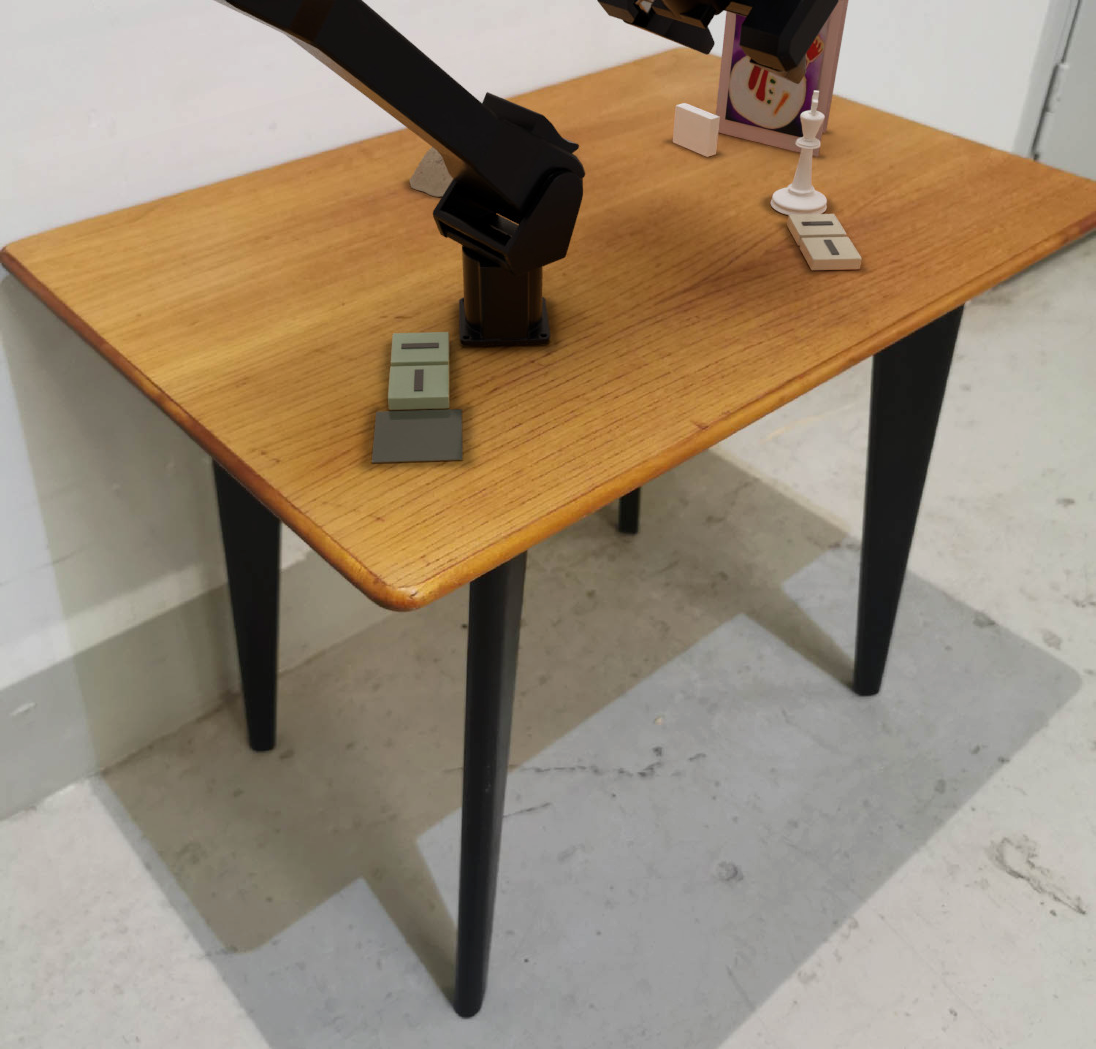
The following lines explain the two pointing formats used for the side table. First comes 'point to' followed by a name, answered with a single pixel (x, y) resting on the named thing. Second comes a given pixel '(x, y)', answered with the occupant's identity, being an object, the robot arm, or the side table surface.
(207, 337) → the side table surface
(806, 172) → the chess piece
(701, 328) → the side table surface
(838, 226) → the beige domino tile
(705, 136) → the eraser
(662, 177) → the side table surface
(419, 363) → the green and grey panel
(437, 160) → the clay tablet
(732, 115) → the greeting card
